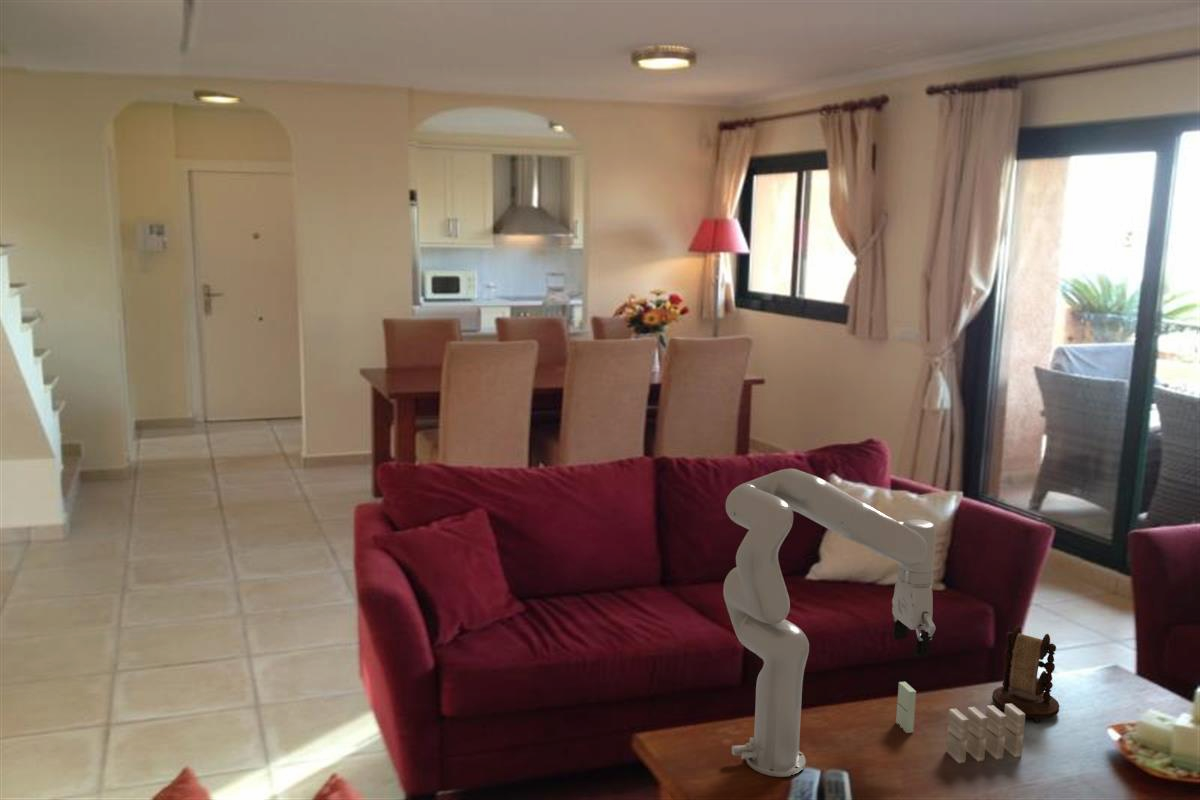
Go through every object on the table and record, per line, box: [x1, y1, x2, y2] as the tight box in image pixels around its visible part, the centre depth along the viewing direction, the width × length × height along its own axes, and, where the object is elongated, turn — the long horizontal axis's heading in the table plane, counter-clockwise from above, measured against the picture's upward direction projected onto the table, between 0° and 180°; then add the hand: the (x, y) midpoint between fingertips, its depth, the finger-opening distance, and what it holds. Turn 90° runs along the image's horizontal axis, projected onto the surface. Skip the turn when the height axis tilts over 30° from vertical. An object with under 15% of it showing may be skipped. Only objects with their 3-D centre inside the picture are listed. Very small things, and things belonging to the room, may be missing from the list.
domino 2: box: [945, 708, 969, 764], centre depth 214 cm, size 2×5×10 cm, turn 12°
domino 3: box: [966, 706, 988, 762], centre depth 215 cm, size 2×5×10 cm, turn 12°
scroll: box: [991, 625, 1060, 724], centre depth 236 cm, size 15×15×20 cm
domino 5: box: [1003, 703, 1026, 758], centre depth 217 cm, size 2×5×10 cm, turn 12°
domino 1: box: [895, 681, 917, 734], centre depth 227 cm, size 2×5×10 cm, turn 12°
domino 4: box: [985, 704, 1007, 761], centre depth 216 cm, size 2×5×10 cm, turn 12°
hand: (911, 647), depth 224 cm, fingers open, 9 cm apart
